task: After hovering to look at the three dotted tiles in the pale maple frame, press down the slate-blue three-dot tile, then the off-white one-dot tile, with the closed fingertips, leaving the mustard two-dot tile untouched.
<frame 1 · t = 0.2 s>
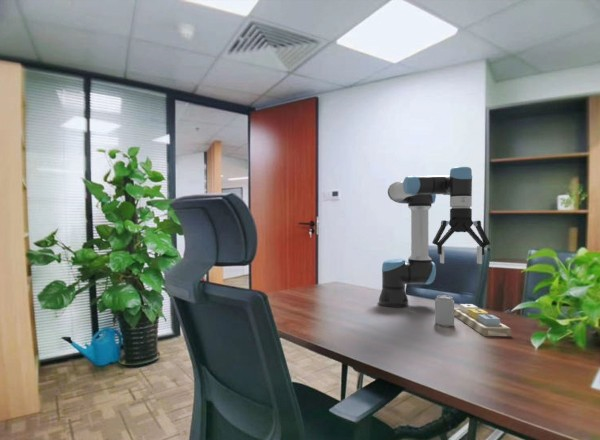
hand: (460, 263, 128), 28 cm above the table, fingers open, 13 cm apart
tile 2: (478, 314, 143), point 4 cm above the table, slide at 0.0 cm
frame: (478, 323, 143), on the table
tile 3: (488, 320, 135), point 4 cm above the table, slide at 0.0 cm
tile 1: (468, 308, 152), point 4 cm above the table, slide at 0.0 cm
can: (444, 325, 142), on the table
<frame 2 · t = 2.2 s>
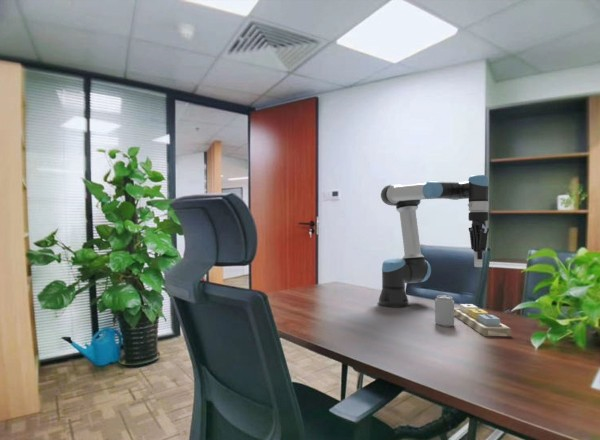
hand: (478, 266, 143), 24 cm above the table, fingers closed
nothing on the table moved.
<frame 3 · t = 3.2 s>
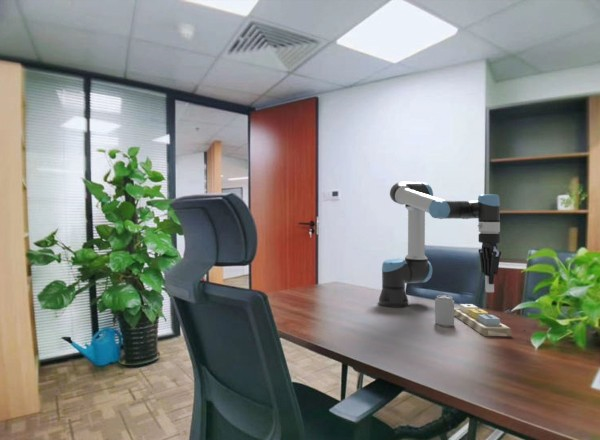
hand: (489, 291, 134), 16 cm above the table, fingers closed
nothing on the table moved.
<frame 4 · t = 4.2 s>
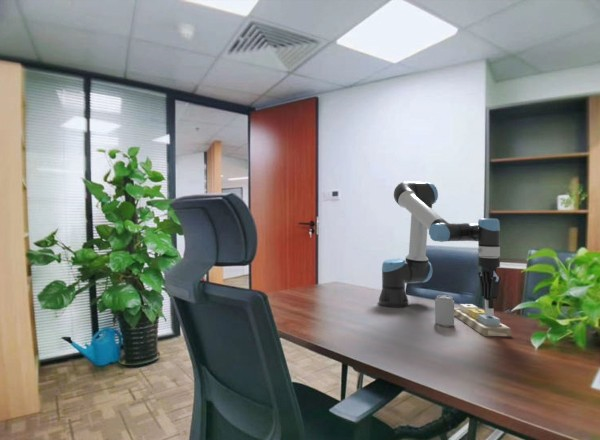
hand: (489, 315, 134), 6 cm above the table, fingers closed
tile 3: (488, 320, 135), point 4 cm above the table, slide at 0.1 cm, touching gripper
everything else where it was.
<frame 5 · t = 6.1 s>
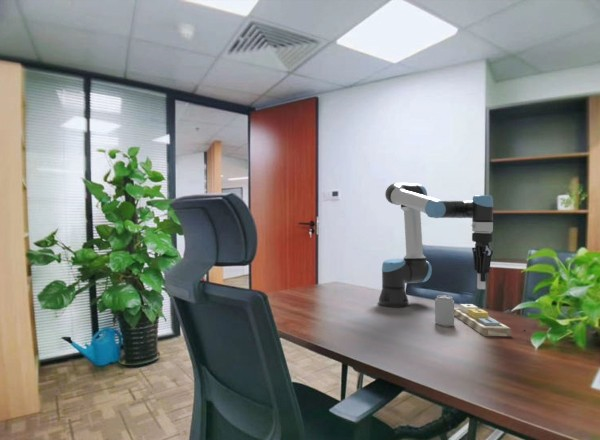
hand: (481, 288, 140), 16 cm above the table, fingers closed
tile 3: (488, 324, 135), point 3 cm above the table, slide at 1.6 cm
everything else where it was.
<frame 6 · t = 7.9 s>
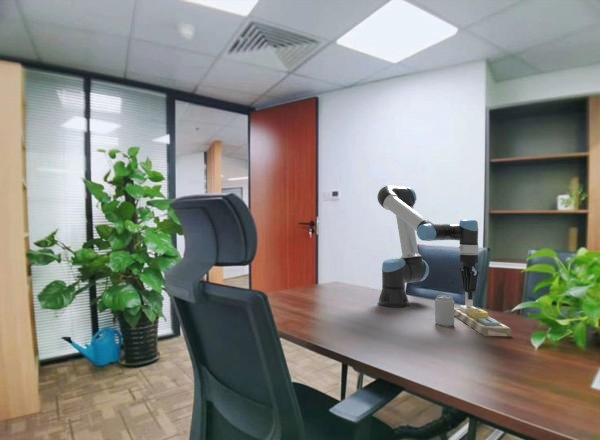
hand: (469, 306, 152), 5 cm above the table, fingers closed
tile 1: (468, 310, 152), point 4 cm above the table, slide at 0.6 cm, touching gripper
everything else where it was.
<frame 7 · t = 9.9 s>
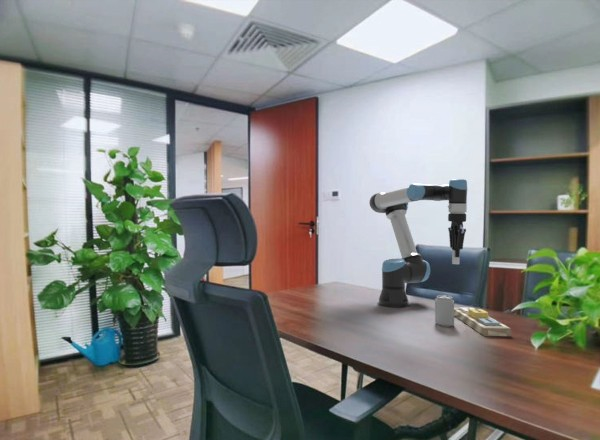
hand: (455, 263, 155), 24 cm above the table, fingers closed
tile 1: (468, 312, 152), point 3 cm above the table, slide at 1.6 cm
everything else where it was.
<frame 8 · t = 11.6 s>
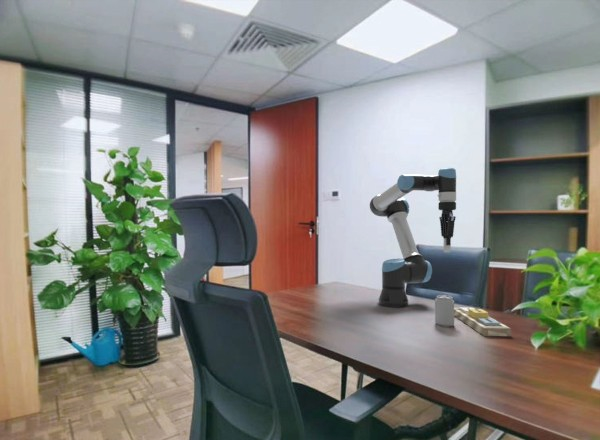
hand: (447, 252, 157), 29 cm above the table, fingers closed
nothing on the table moved.
at the end: tile 3 slide at 1.6 cm; tile 1 slide at 1.6 cm; tile 2 slide at 0.0 cm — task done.
